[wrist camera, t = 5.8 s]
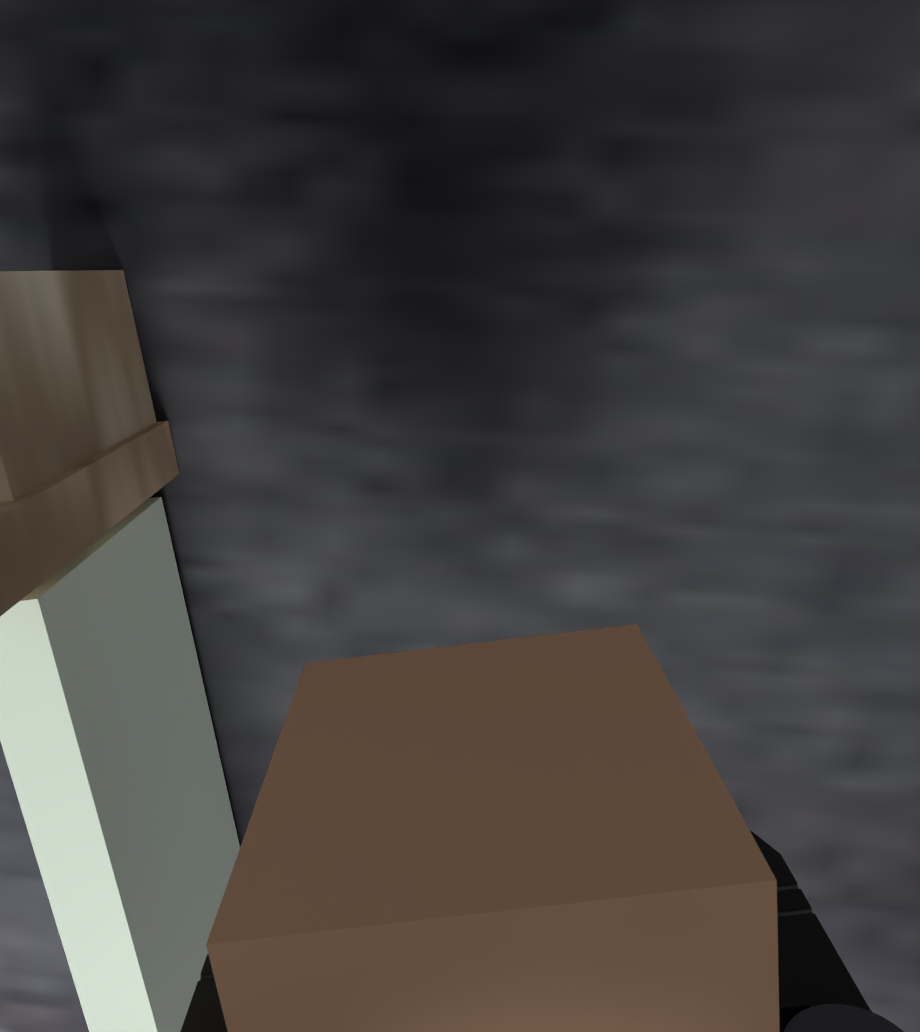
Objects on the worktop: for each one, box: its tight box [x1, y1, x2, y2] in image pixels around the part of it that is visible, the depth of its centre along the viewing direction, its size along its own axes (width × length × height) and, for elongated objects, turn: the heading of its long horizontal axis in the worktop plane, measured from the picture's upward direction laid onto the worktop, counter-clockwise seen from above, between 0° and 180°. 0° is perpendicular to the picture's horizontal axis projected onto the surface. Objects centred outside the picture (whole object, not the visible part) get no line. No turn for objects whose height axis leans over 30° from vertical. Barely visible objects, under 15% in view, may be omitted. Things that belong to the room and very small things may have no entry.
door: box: [0, 497, 240, 1032], centre depth 17 cm, size 11×2×7 cm, turn 7°
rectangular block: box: [206, 624, 780, 1032], centre depth 10 cm, size 7×4×5 cm, turn 7°
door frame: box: [0, 270, 179, 616], centre depth 16 cm, size 22×2×9 cm, turn 7°
